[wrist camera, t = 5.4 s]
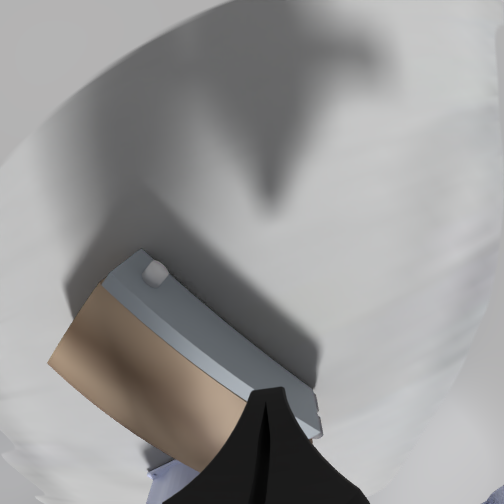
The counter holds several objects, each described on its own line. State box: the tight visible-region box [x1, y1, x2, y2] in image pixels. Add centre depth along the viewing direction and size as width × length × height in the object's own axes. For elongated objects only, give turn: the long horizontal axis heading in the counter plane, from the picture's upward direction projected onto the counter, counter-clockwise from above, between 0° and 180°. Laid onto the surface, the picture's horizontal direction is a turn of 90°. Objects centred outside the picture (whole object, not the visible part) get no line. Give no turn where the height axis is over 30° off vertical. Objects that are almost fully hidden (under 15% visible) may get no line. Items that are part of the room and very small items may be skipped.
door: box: [102, 248, 323, 439], centre depth 18 cm, size 2×17×4 cm, turn 46°
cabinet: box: [47, 277, 313, 473], centre depth 20 cm, size 9×17×4 cm, turn 46°
